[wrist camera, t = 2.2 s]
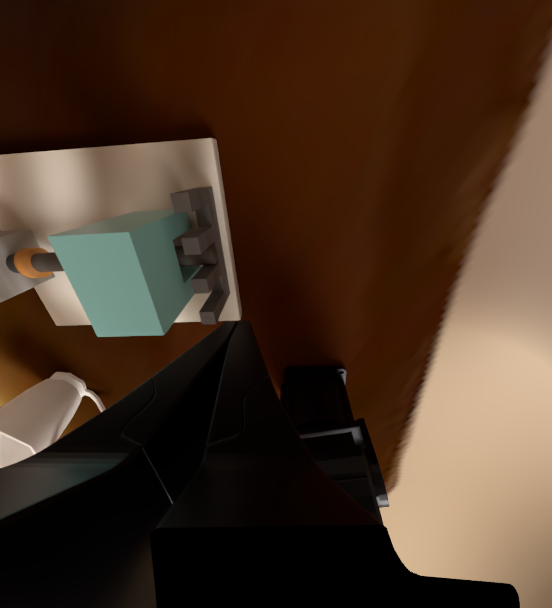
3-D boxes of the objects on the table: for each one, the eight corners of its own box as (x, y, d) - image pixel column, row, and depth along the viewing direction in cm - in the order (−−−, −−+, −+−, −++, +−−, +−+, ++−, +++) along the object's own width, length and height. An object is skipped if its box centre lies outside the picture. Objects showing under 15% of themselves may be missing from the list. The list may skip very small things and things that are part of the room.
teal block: (186, 208, 18) (128, 232, 11) (203, 282, 21) (164, 335, 14) (133, 211, 18) (46, 236, 12) (156, 284, 21) (97, 336, 14)
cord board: (216, 139, 17) (184, 127, 12) (242, 313, 24) (229, 354, 19) (-23, 158, 18) (-149, 155, 13) (66, 318, 25) (7, 359, 20)
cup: (38, 353, 28) (-48, 418, 20) (128, 385, 29) (78, 454, 22) (37, 392, 31) (-38, 459, 24) (118, 418, 33) (71, 488, 25)
